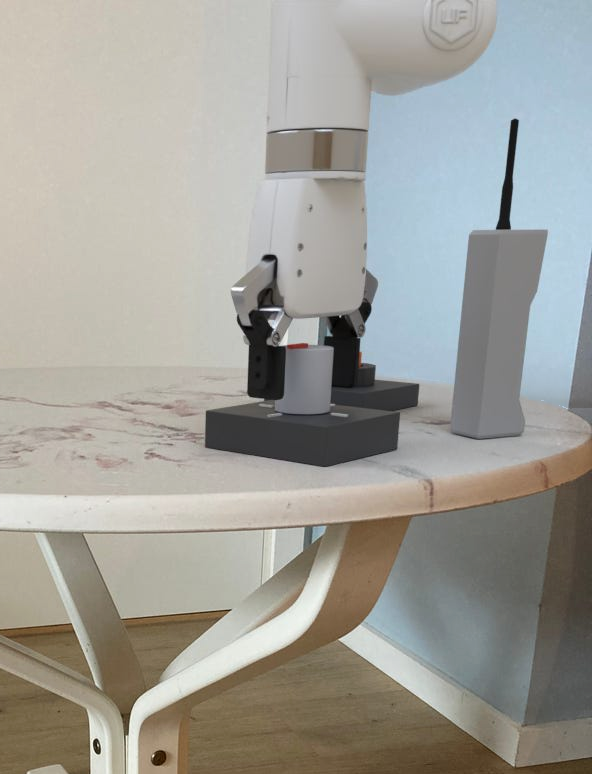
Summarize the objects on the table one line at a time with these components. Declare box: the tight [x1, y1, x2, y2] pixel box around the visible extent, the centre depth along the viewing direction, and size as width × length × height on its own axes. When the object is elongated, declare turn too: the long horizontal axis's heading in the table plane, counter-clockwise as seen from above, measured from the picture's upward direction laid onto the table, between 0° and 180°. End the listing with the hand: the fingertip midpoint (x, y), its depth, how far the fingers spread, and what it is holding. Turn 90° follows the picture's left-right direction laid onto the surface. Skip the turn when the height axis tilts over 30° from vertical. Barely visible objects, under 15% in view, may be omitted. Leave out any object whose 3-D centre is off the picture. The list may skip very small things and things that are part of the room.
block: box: [263, 362, 420, 411], centre depth 113 cm, size 12×10×4 cm
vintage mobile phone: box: [449, 117, 549, 440], centre depth 92 cm, size 4×5×25 cm
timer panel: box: [204, 400, 401, 468], centre depth 90 cm, size 12×10×3 cm
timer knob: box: [275, 342, 334, 415], centre depth 88 cm, size 4×4×5 cm
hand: (303, 392), depth 89 cm, fingers open, 9 cm apart
